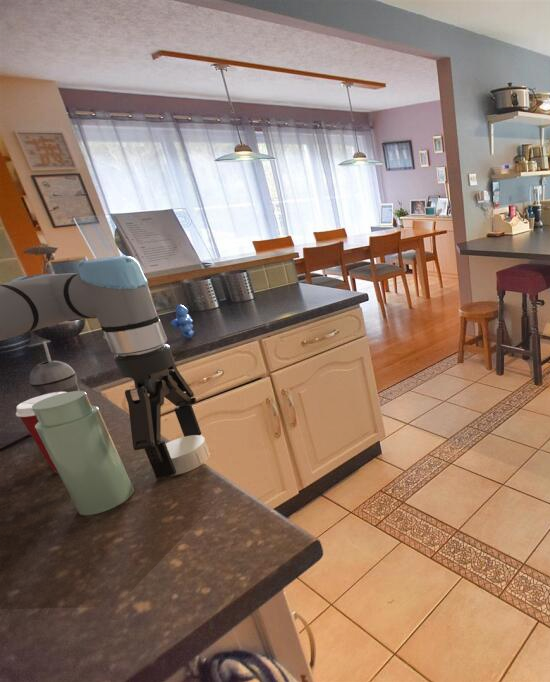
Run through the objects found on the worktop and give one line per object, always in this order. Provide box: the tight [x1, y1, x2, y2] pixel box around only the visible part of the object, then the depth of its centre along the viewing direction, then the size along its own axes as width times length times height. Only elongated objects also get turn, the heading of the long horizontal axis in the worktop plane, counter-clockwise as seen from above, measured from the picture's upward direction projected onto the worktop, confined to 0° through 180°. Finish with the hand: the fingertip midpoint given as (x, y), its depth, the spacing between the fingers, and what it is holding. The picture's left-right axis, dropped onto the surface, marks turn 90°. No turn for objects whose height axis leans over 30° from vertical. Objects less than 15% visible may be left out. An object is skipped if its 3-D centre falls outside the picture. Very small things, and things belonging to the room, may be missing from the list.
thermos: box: [31, 390, 135, 516], centre depth 70 cm, size 7×7×19 cm
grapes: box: [169, 304, 195, 340], centre depth 157 cm, size 12×7×12 cm, turn 32°
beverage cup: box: [29, 340, 80, 396], centre depth 96 cm, size 7×7×20 cm
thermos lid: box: [165, 435, 211, 477], centre depth 82 cm, size 8×8×4 cm
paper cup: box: [15, 392, 66, 474], centre depth 82 cm, size 8×8×14 cm
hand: (181, 454), depth 82 cm, fingers open, 13 cm apart
